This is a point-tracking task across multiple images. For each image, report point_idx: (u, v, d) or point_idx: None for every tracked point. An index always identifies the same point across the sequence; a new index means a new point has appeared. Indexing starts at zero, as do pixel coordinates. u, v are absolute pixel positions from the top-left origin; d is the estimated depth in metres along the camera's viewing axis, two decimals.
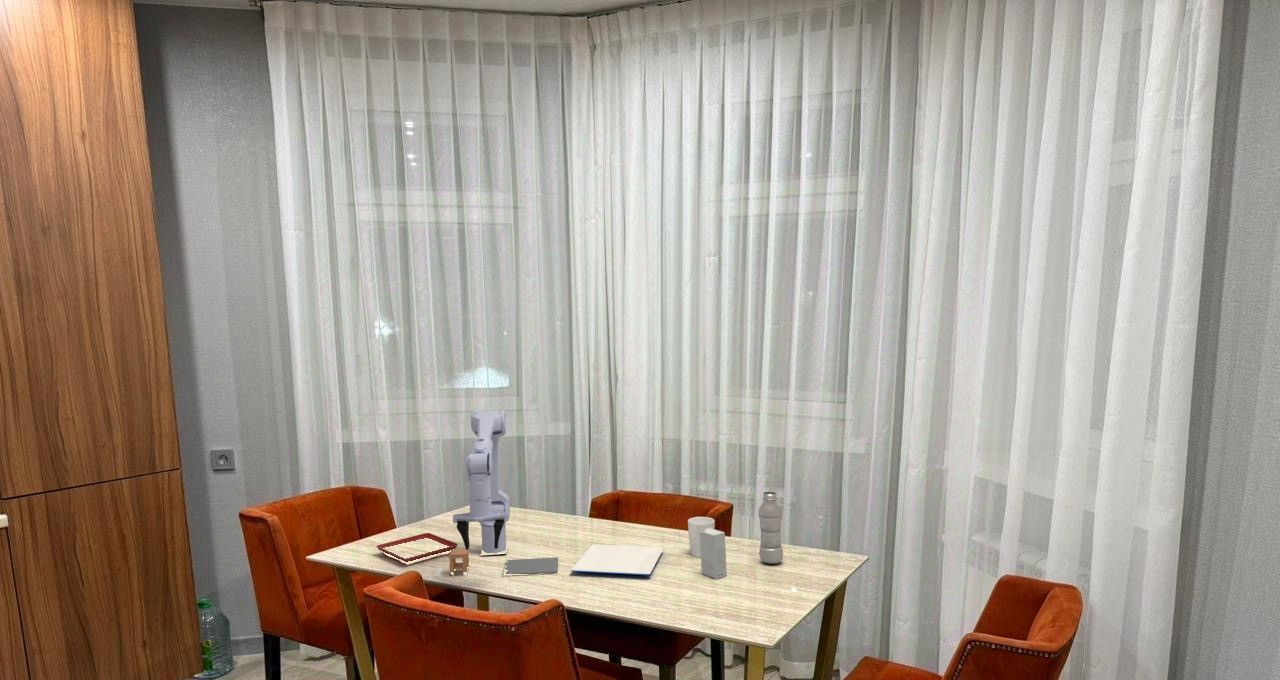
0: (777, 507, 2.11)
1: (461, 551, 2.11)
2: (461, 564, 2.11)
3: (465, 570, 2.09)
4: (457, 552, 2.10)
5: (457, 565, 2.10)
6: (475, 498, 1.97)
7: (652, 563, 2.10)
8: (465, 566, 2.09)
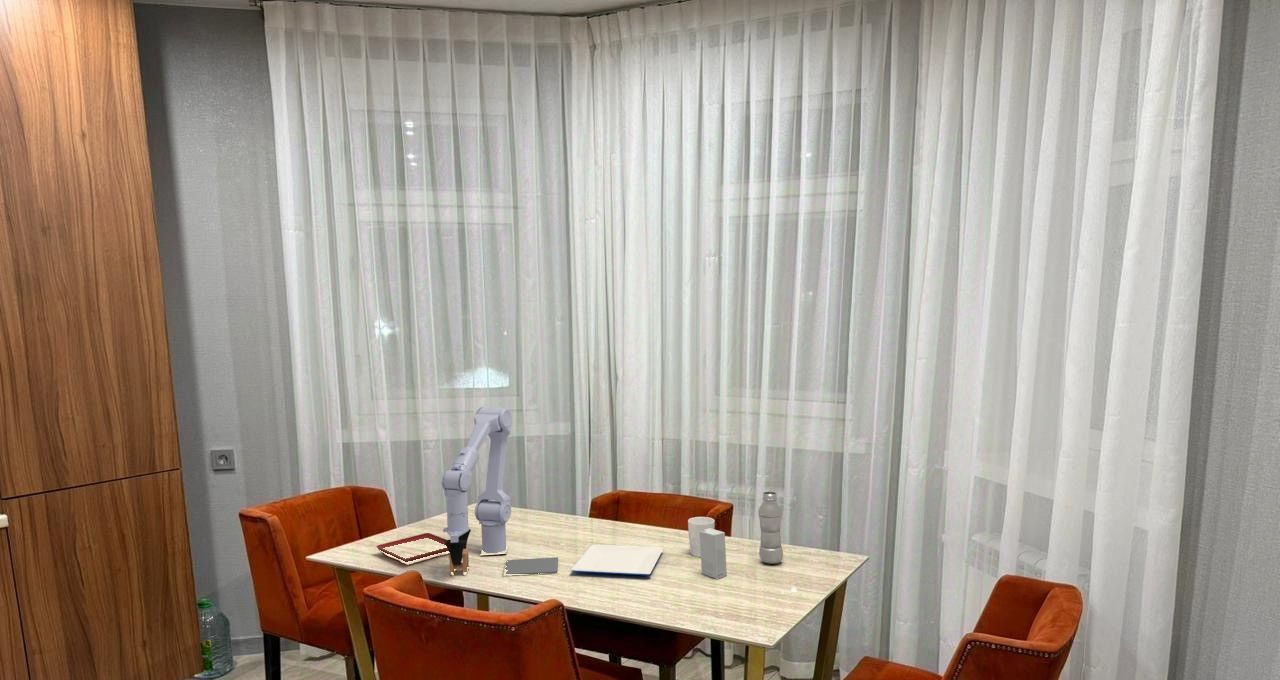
0: (777, 507, 2.11)
1: None
2: (461, 564, 2.11)
3: (465, 570, 2.09)
4: None
5: (457, 565, 2.10)
6: (449, 512, 2.08)
7: (652, 563, 2.10)
8: (465, 566, 2.09)
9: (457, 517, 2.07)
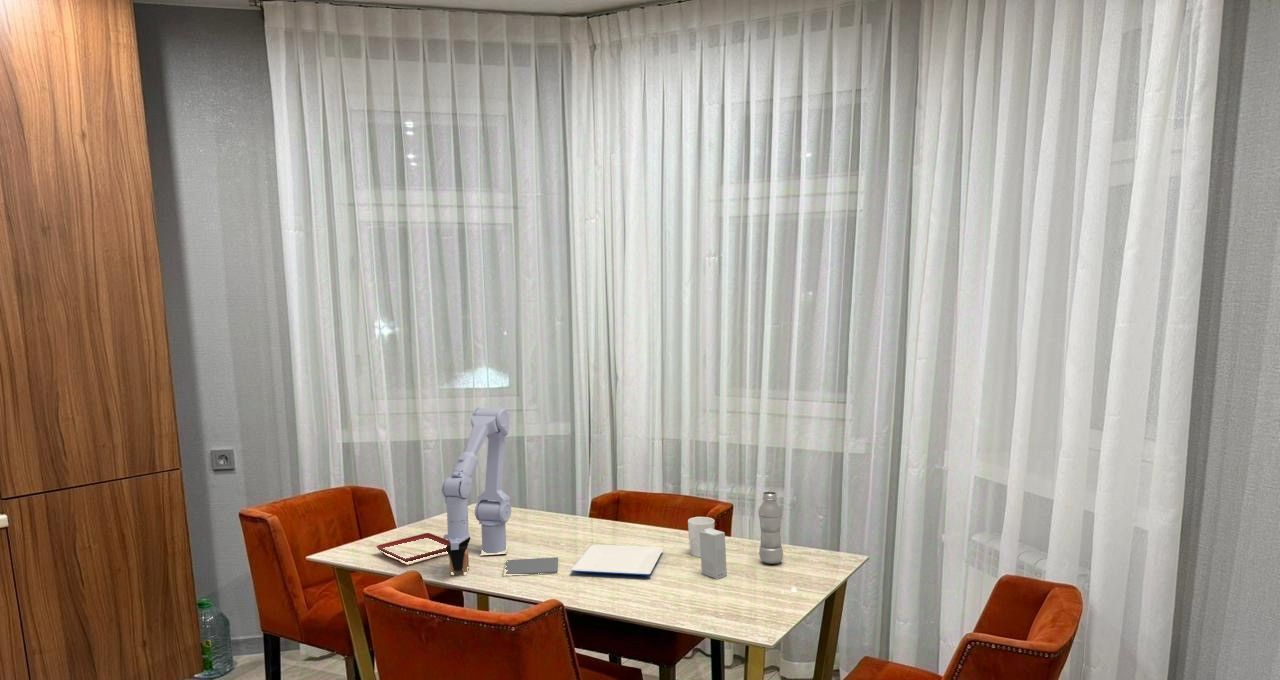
0: (777, 507, 2.11)
1: None
2: None
3: (465, 570, 2.09)
4: None
5: None
6: (449, 519, 2.08)
7: (652, 563, 2.10)
8: (465, 566, 2.09)
9: (457, 524, 2.07)
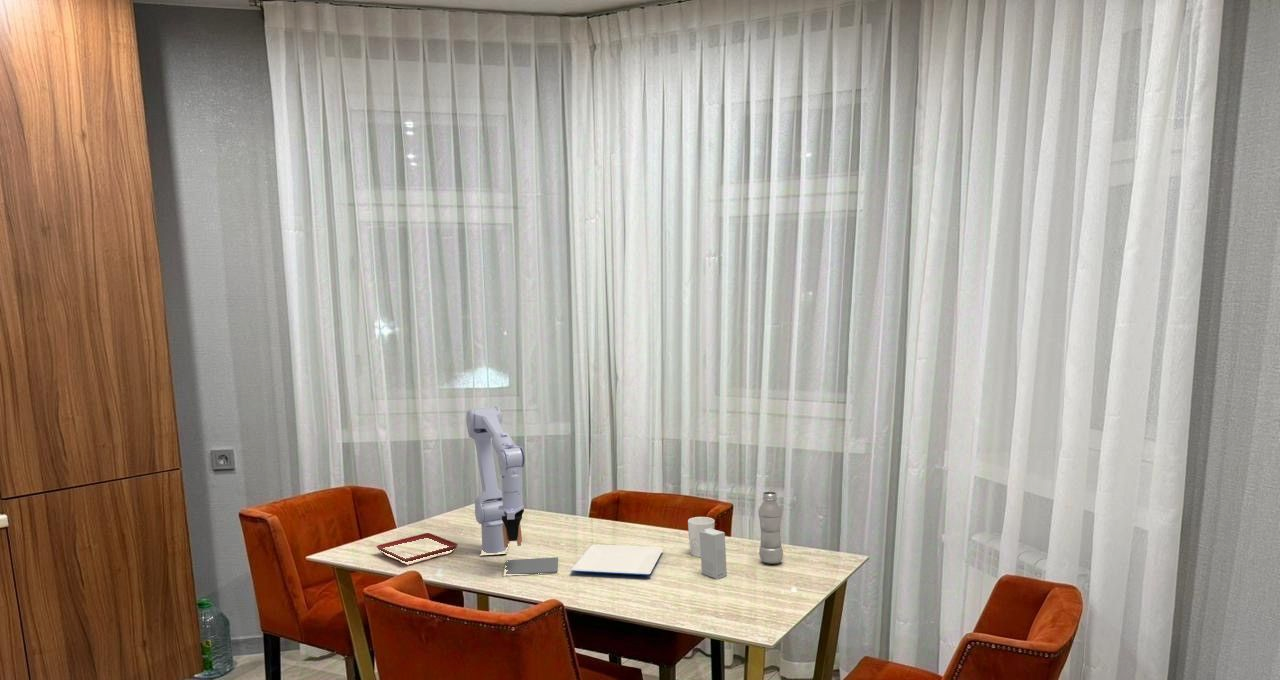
0: (777, 507, 2.11)
1: None
2: None
3: (519, 541, 2.10)
4: None
5: None
6: (512, 490, 2.09)
7: (652, 563, 2.10)
8: (519, 537, 2.10)
9: (512, 495, 2.09)
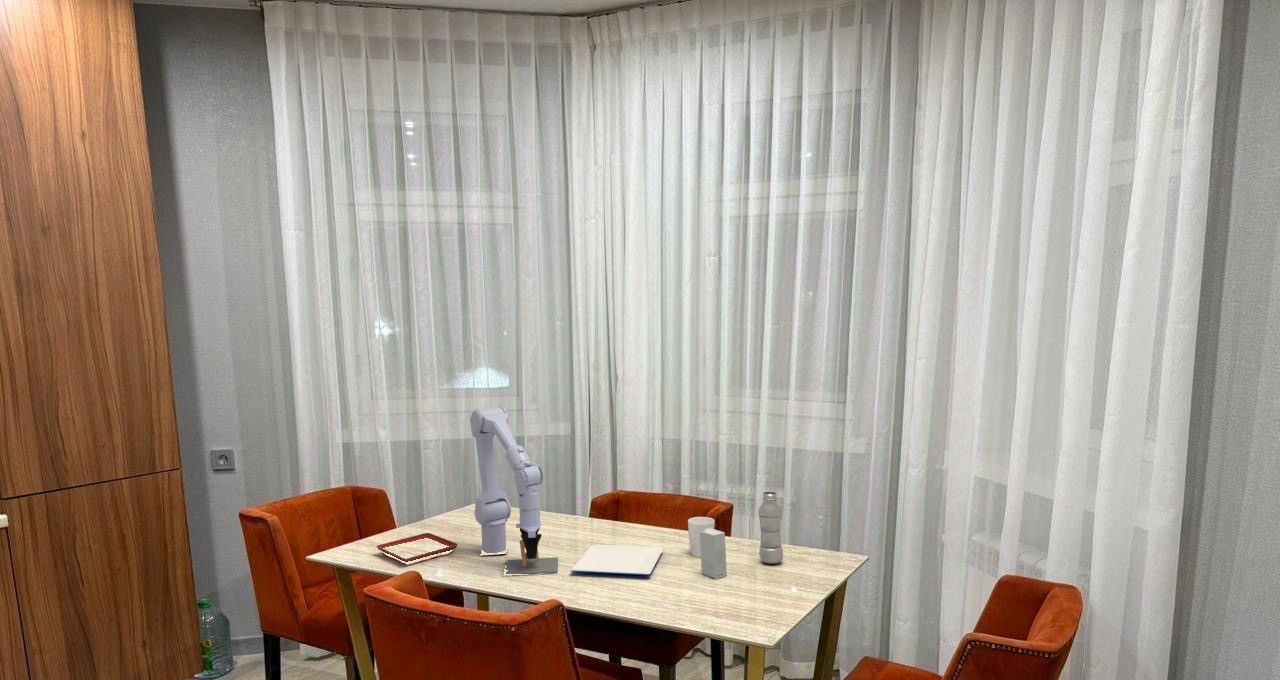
0: (777, 507, 2.11)
1: None
2: None
3: (537, 558, 2.12)
4: None
5: None
6: (532, 508, 2.10)
7: (652, 563, 2.10)
8: (537, 554, 2.12)
9: (531, 513, 2.10)
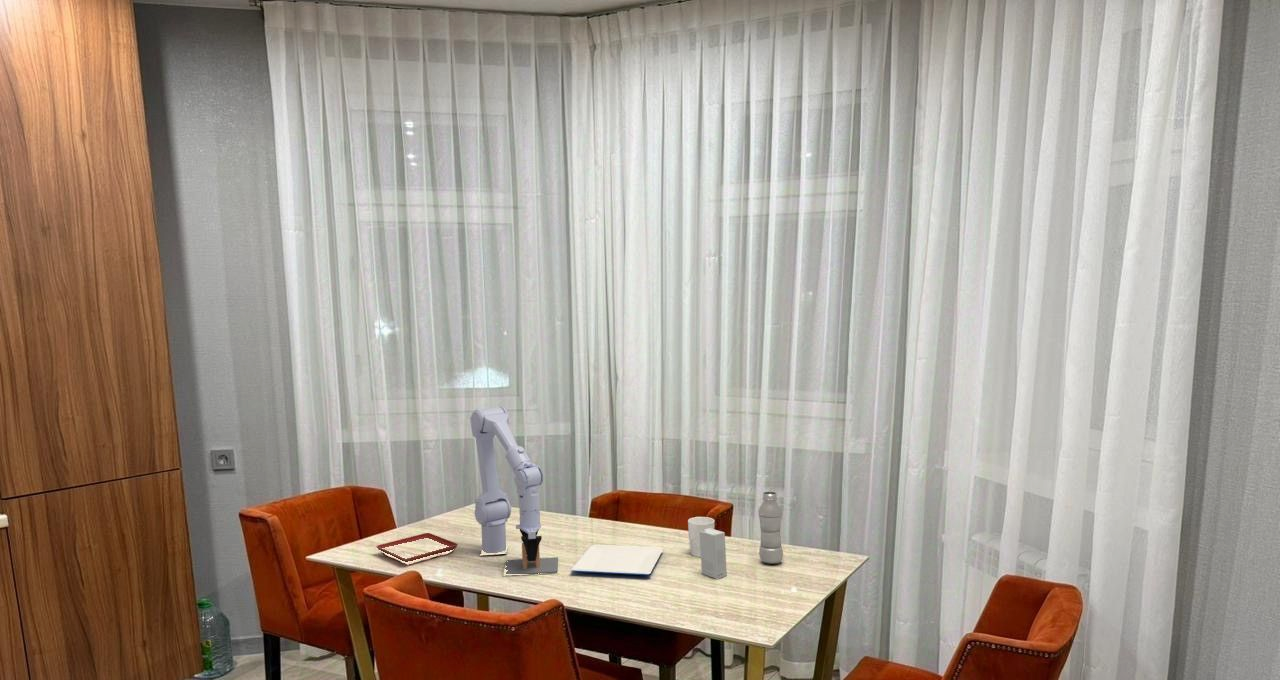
0: (777, 507, 2.11)
1: None
2: None
3: (538, 562, 2.12)
4: None
5: None
6: (532, 509, 2.10)
7: (652, 563, 2.10)
8: (538, 558, 2.12)
9: (531, 514, 2.10)
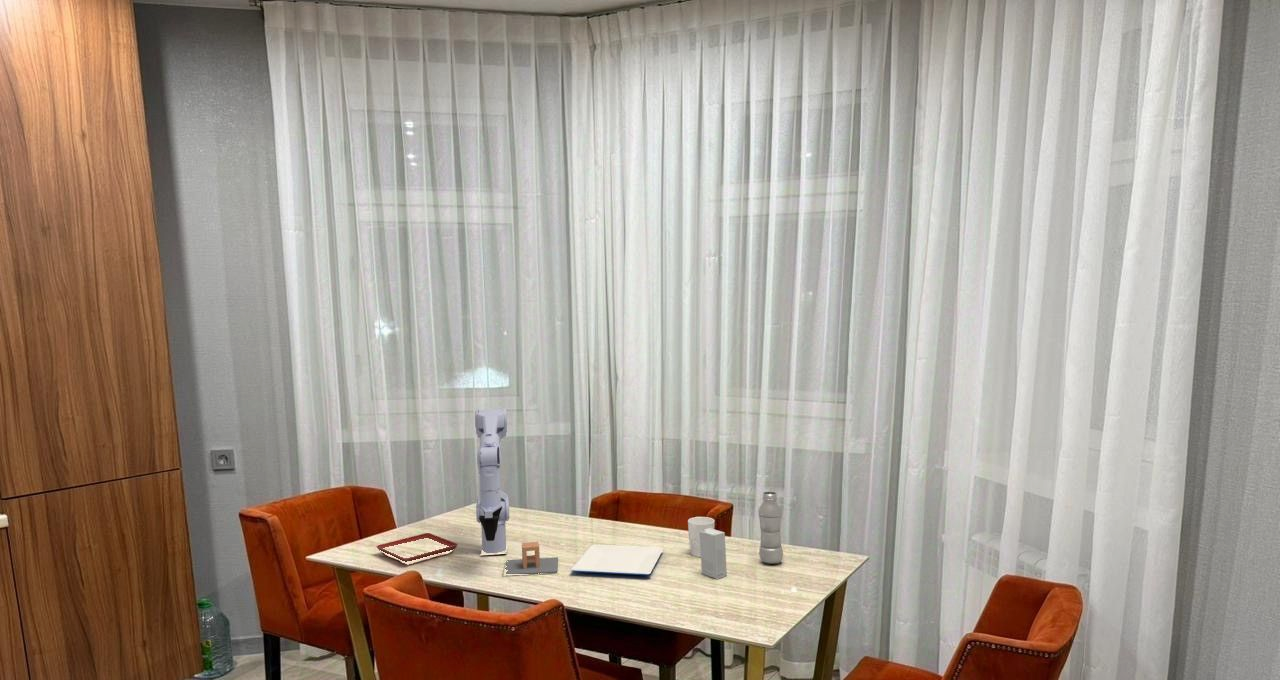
0: (777, 507, 2.11)
1: (532, 544, 2.14)
2: (532, 557, 2.14)
3: (538, 562, 2.12)
4: (529, 545, 2.12)
5: (529, 558, 2.13)
6: (486, 489, 2.10)
7: (652, 563, 2.10)
8: (538, 558, 2.12)
9: (490, 493, 2.10)
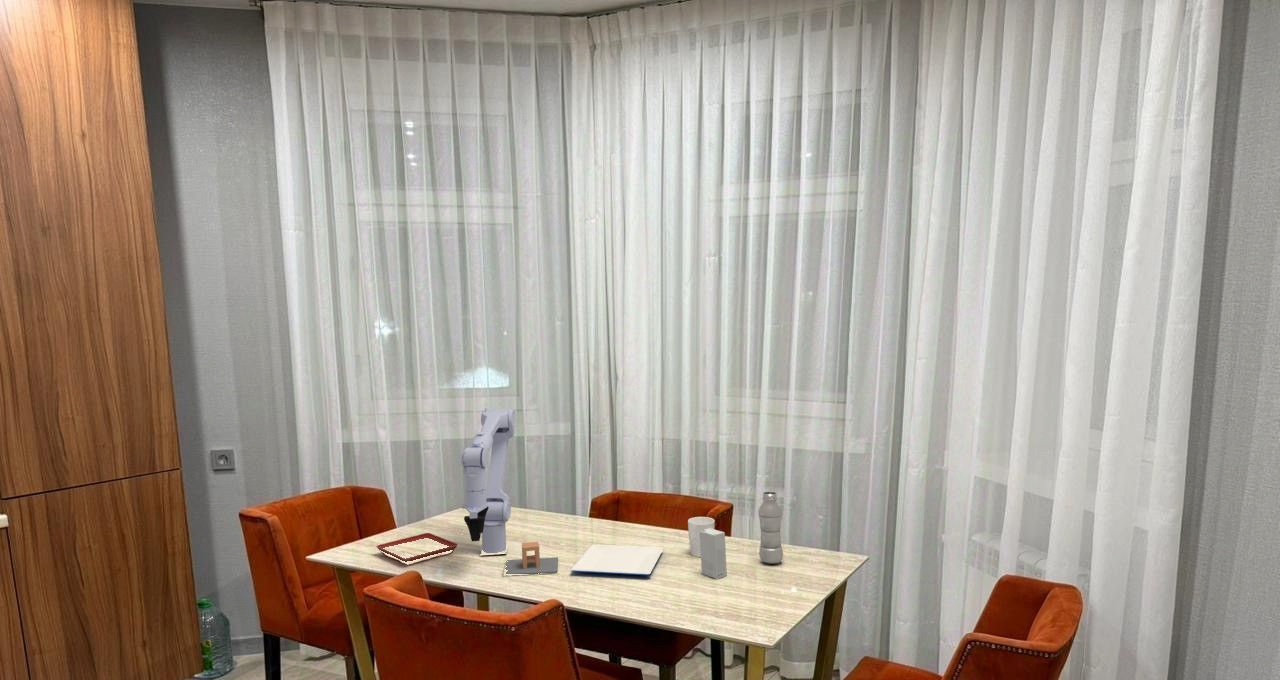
0: (777, 507, 2.11)
1: (532, 544, 2.14)
2: (532, 557, 2.14)
3: (538, 562, 2.12)
4: (529, 545, 2.12)
5: (529, 558, 2.13)
6: (469, 489, 2.10)
7: (652, 563, 2.10)
8: (538, 558, 2.12)
9: (476, 494, 2.10)
